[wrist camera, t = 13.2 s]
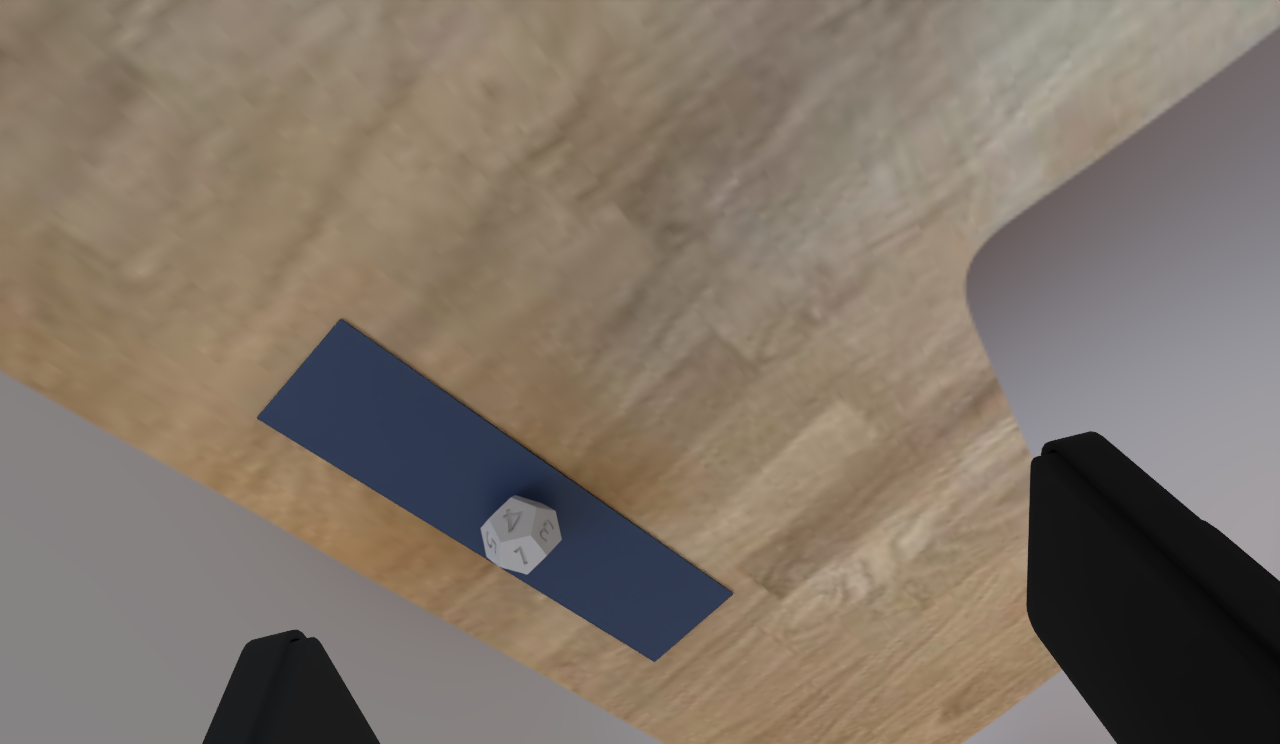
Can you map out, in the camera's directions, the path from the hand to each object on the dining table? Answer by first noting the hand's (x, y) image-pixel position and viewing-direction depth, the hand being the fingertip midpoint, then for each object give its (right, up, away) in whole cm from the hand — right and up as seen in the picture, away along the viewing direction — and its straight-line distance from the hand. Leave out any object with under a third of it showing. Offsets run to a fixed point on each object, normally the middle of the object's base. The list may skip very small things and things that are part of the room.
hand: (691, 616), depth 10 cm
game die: (-6, -3, +27) cm, 28 cm away
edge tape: (-6, -4, +27) cm, 28 cm away
